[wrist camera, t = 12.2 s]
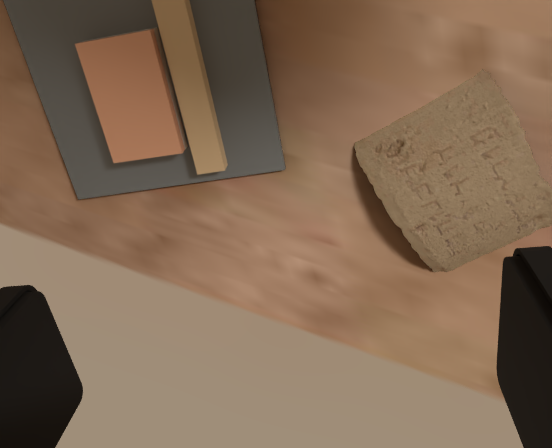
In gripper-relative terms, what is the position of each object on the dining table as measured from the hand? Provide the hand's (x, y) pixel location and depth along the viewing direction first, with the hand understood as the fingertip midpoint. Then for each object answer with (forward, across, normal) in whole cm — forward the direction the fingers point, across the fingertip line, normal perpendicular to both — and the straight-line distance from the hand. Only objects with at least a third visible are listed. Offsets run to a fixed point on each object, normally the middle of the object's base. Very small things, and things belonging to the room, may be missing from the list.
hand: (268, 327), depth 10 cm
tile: (+25, +9, 0) cm, 27 cm away
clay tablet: (+27, -9, +9) cm, 30 cm away
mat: (+26, +11, -2) cm, 29 cm away
